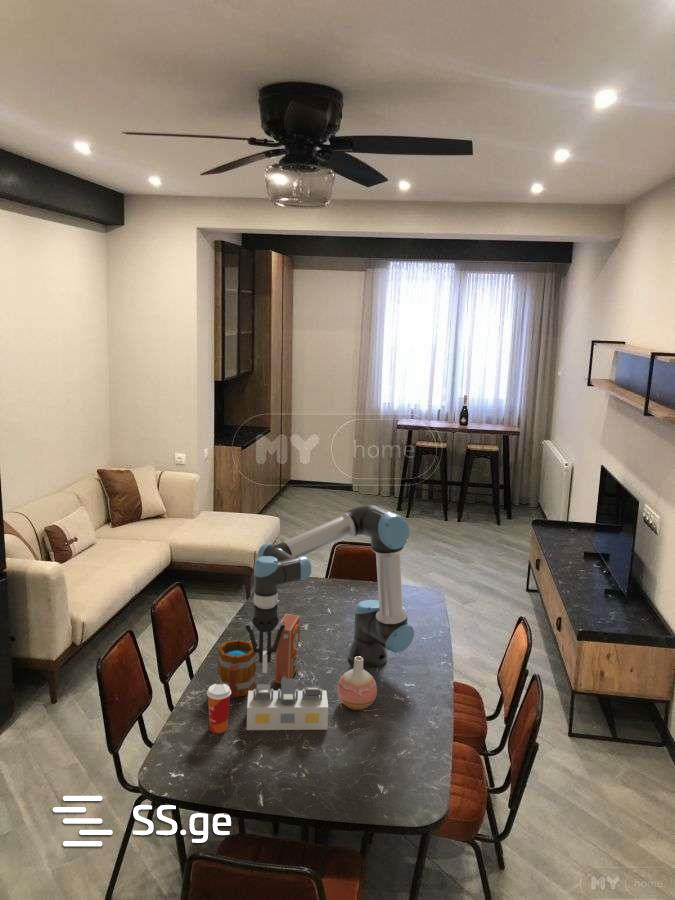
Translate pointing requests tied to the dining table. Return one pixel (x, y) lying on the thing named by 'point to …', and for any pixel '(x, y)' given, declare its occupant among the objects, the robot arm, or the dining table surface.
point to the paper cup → (218, 707)
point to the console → (287, 712)
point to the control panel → (287, 649)
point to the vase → (357, 687)
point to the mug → (237, 666)
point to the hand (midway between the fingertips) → (264, 670)
